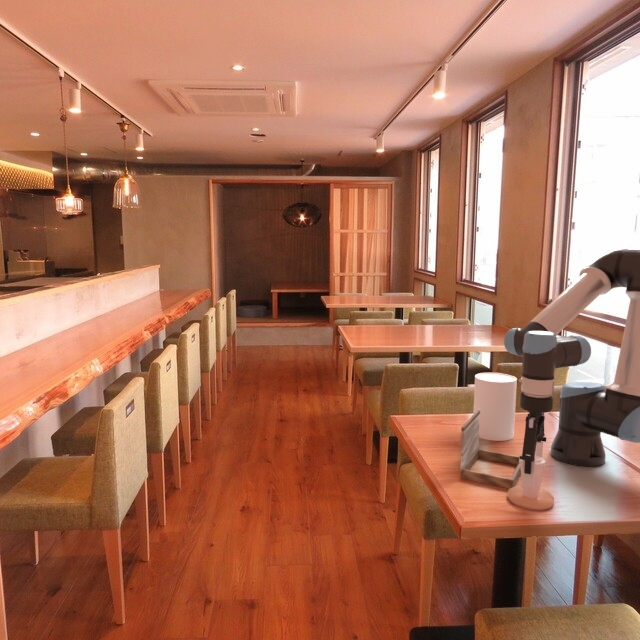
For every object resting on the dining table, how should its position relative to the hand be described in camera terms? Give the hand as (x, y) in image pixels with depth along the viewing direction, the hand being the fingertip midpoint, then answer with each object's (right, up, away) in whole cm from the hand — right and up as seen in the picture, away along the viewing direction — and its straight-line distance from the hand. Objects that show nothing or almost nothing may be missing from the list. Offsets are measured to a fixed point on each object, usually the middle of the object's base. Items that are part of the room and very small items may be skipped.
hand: (531, 474), depth 136 cm
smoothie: (0, -6, +1) cm, 6 cm away
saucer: (0, -7, +1) cm, 7 cm away
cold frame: (-4, -4, +18) cm, 19 cm away
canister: (+6, 0, +49) cm, 49 cm away
